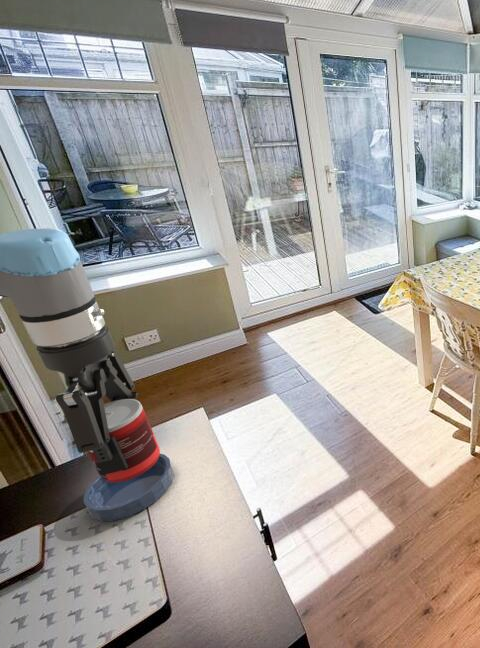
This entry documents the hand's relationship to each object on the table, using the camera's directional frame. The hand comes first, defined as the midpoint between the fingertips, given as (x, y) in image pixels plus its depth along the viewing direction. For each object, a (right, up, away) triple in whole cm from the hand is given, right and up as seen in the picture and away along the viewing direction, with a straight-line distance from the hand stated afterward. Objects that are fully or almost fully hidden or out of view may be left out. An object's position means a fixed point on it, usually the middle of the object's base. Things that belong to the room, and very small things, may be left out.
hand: (125, 450), depth 69 cm
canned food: (0, -3, +1) cm, 3 cm away
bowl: (-14, -16, +16) cm, 27 cm away
